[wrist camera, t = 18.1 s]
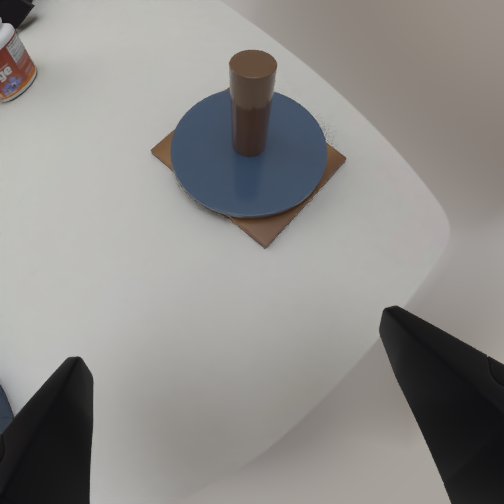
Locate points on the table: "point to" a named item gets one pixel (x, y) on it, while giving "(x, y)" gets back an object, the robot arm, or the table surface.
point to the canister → (4, 411)
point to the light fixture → (14, 11)
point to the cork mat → (267, 226)
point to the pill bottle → (13, 64)
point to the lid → (249, 145)
